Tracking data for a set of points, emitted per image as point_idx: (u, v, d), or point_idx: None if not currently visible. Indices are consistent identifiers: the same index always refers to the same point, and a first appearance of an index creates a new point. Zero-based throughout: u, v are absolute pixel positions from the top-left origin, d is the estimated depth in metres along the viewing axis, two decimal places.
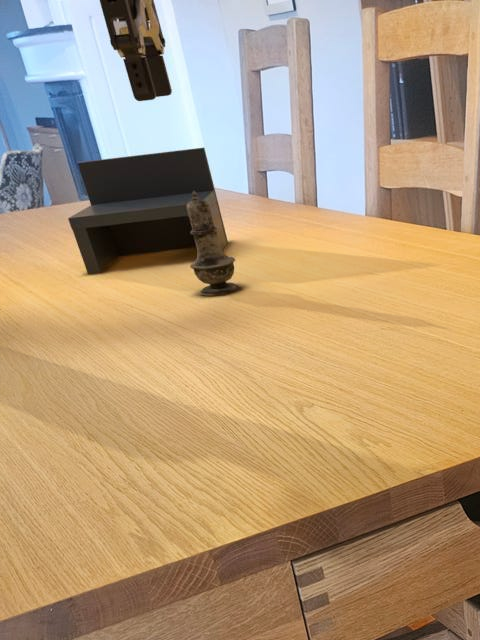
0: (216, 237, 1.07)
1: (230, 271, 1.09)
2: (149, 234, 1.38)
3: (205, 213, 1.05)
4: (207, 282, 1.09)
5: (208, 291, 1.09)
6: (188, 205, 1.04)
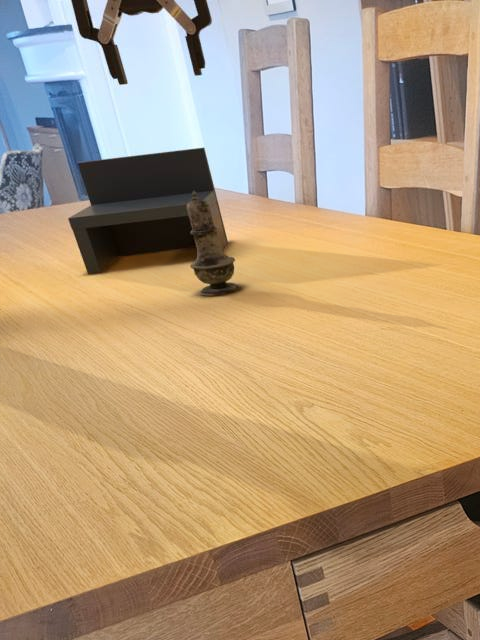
0: (216, 237, 1.07)
1: (230, 271, 1.09)
2: (149, 234, 1.38)
3: (205, 213, 1.05)
4: (207, 282, 1.09)
5: (208, 291, 1.09)
6: (188, 205, 1.04)
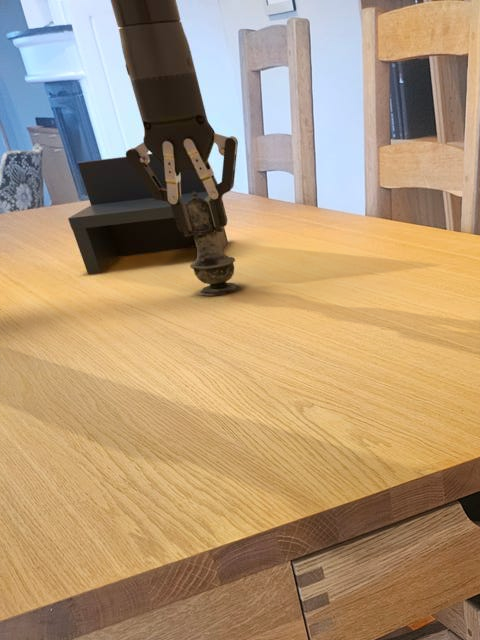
0: (216, 237, 1.07)
1: (230, 271, 1.09)
2: (149, 234, 1.38)
3: (205, 213, 1.05)
4: (207, 282, 1.09)
5: (208, 291, 1.09)
6: (188, 205, 1.04)
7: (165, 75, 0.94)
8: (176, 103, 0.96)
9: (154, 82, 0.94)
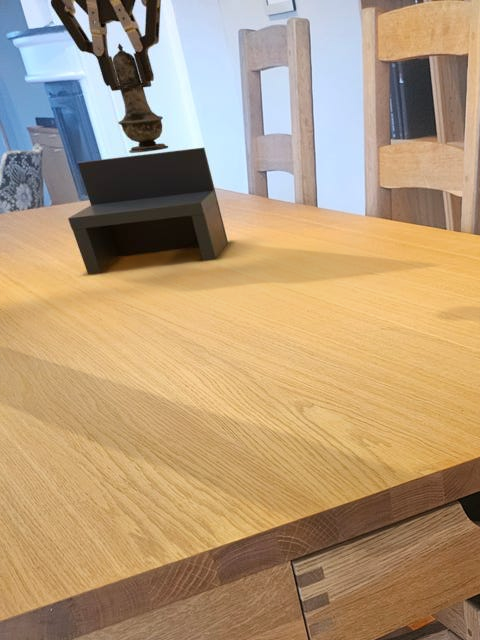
0: (143, 93, 1.10)
1: (157, 128, 1.12)
2: (149, 234, 1.38)
3: (131, 67, 1.08)
4: (135, 138, 1.12)
5: None
6: (114, 58, 1.08)
7: None
8: None
9: None
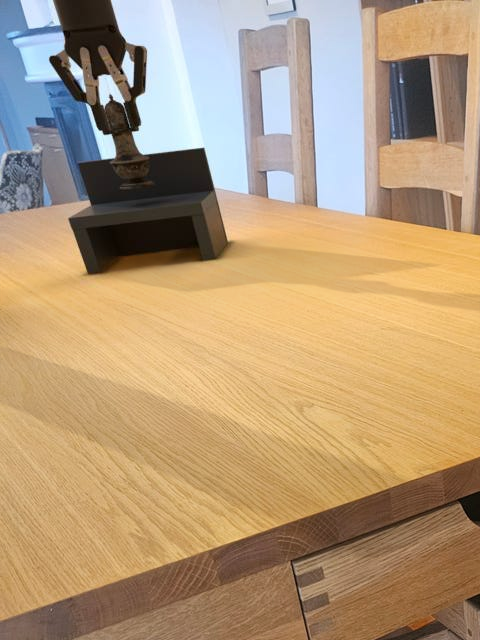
0: (131, 136, 1.24)
1: (145, 167, 1.26)
2: (149, 234, 1.38)
3: (121, 114, 1.22)
4: (125, 177, 1.26)
5: (126, 185, 1.26)
6: (105, 106, 1.21)
7: None
8: (89, 12, 1.13)
9: None
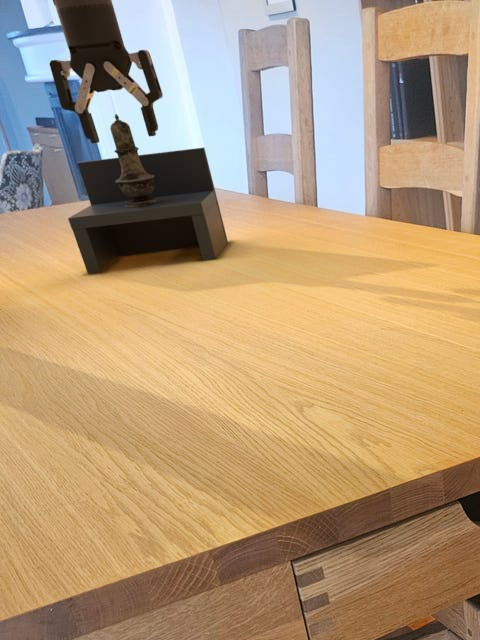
0: (137, 155, 1.25)
1: (150, 186, 1.27)
2: (149, 234, 1.38)
3: (126, 134, 1.23)
4: (130, 195, 1.27)
5: (131, 203, 1.28)
6: (111, 126, 1.23)
7: (84, 4, 1.12)
8: (95, 29, 1.14)
9: (75, 10, 1.12)
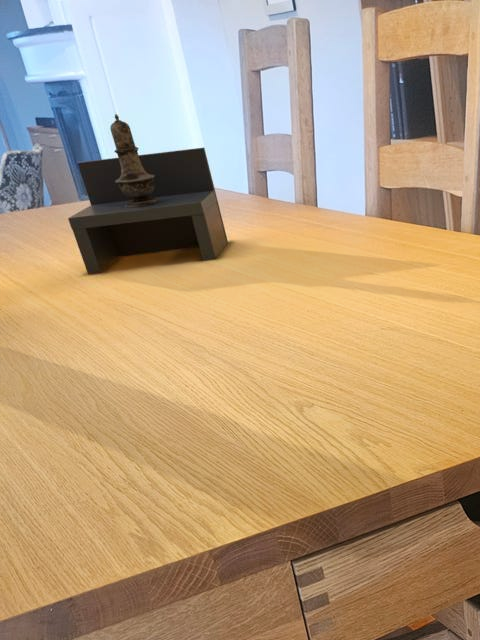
0: (137, 155, 1.25)
1: (150, 186, 1.27)
2: (149, 234, 1.38)
3: (126, 134, 1.23)
4: (130, 195, 1.27)
5: (131, 203, 1.28)
6: (111, 126, 1.23)
7: None
8: None
9: None
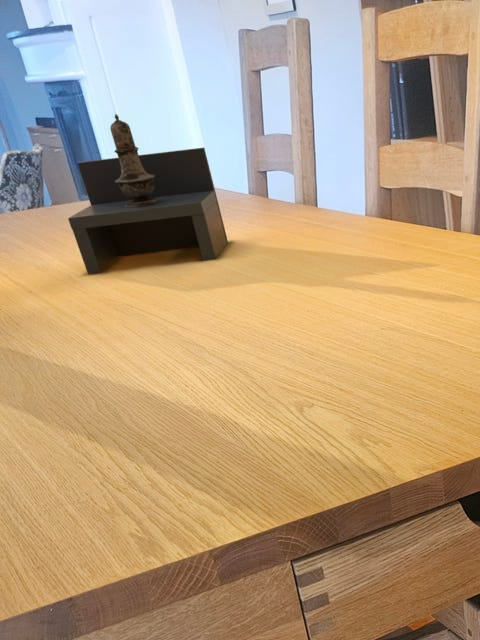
0: (137, 155, 1.25)
1: (150, 186, 1.27)
2: (149, 234, 1.38)
3: (126, 134, 1.23)
4: (130, 195, 1.27)
5: (131, 203, 1.28)
6: (111, 126, 1.23)
7: None
8: None
9: None
